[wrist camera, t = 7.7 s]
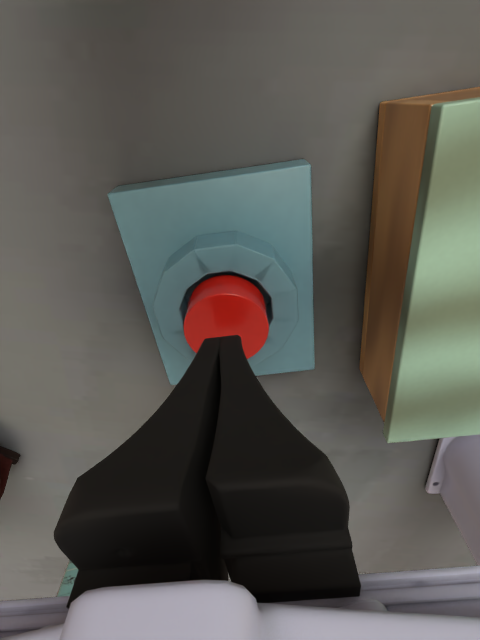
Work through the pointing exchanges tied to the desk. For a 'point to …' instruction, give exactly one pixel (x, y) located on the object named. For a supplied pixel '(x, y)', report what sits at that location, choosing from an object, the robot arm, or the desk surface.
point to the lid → (442, 289)
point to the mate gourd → (6, 466)
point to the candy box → (393, 229)
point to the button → (227, 313)
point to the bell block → (224, 254)
